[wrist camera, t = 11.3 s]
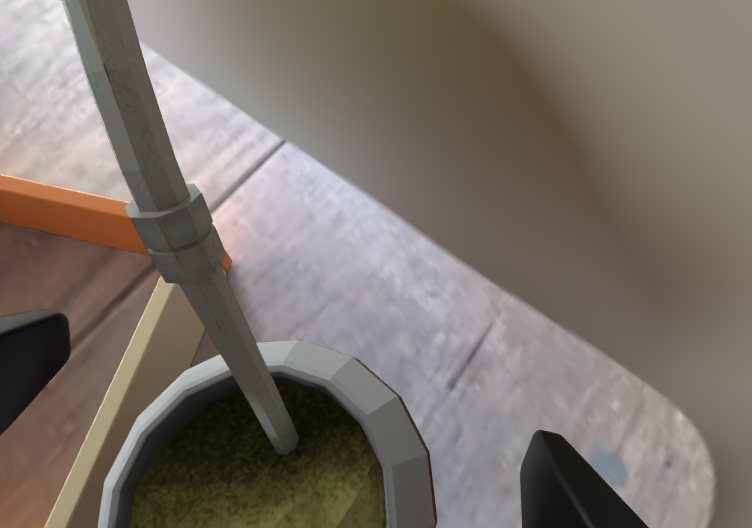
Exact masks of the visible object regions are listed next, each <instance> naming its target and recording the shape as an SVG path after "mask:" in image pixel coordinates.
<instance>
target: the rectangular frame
mask: <svg viewBox="0 0 752 528" xmlns="http://www.w3.org/2000/svg"><path fill="white" fill-rule="evenodd" d="M128 204H129V202H125V201H120V200H115V199H111V198H106V197H102V196H97V195H93V194H88V193H83V192H79V191H74V190H70V189H65V188H61V187H56V186H52V185H47V184H42V183H38V182H33V181H29V180H24V179H20V178H15V177H10V176H6V175H1V174H0V222H5V223H9V224H13V225H18V226H22V227H26V228H31V229H35V230H40V231H44V232H48V233H53V234H57V235H62V236H66V237H70V238H75V239H79V240H84V241H88V242H92V243H97V244H101V245H105V246H110V247H114V248H119V249H123V250H127V251H132V252H136V253H141V254H145V255H149V253H148V251H147V249H146V248H145V246H144V245H143V243H142V241H141V239H140V237H139V235H138V233H137V231H136V229H135V227H134V225H133V224H132V222H131V220H130V218H129V216H128V214H127V212H126V209H125V206H126V205H128ZM224 250H225V249H224ZM225 253H226V256H225V258H224V259H223V261H222V263H221V264H220V266H221V268H222V270H223V272H224V274H225V277H226V275H227V272H228V270H229V268H230V265H231V263H232V260H231V258H230V257H229V255H228V254H227V252H226V251H225ZM149 256H150V255H149ZM204 331H205V327H204V326H203V324H202V322H201V321H200V319H199V317H198V316H197V314H196V312H195V311H194V309H193V307H192V306H191V304H190V302H189V301H188V299H187V297H186V296H185V294H184V292H183V291H182V289H181V287H180V286H179V284H174V283H165V281H164V279H163V277H162V276H160V279H159V281H158V283H157V285H156V287H155V289H154V292H153V294H152V296H151V298H150V300H149V302H148V305H147V307H146V309H145V311H144V313H143V315H142V318H141V320H140V322H139V324H138V326H137V328H136V331H135V333H134V335H133V337H132V339H131V341H130V343H129V346H128V348H127V350H126V352H125V354H124V356H123V359H122V361H121V363H120V365H119V367H118V369H117V372H116V374H115V376H114V378H113V380H112V382H111V385H110V387H109V389H108V391H107V393H106V395H105V397H104V400H103V402H102V404H101V406H100V408H99V410H98V413H97V415H96V417H95V419H94V421H93V423H92V426H91V428H90V430H89V432H88V434H87V436H86V439H85V441H84V443H83V445H82V447H81V449H80V452H79V454H78V456H77V458H76V460H75V462H74V464H73V467H72V469H71V471H70V473H69V475H68V477H67V480H66V482H65V484H64V486H63V488H62V490H61V493H60V495H59V497H58V499H57V501H56V503H55V506H54V508H53V510H52V512H51V514H50V516H49V518H48V521H47V523H46V525H45V527H44V528H98V521H99V514H100V507H101V501H102V494H103V487H104V481H105V479H106V477H107V475H108V474H109V472H110V470H111V468H112V466H113V464H114V462H115V460H116V458H117V456H118V454H119V452H120V450H121V448H122V446H123V444H124V442H125V441H126V439H127V437H128V435H129V433H130V431H131V429H132V427H133V425H134V423H135V421H136V419H137V417H138V416H139V415H140V414H141V413H142V412H143V411H144V410H145V409H146V408H147V407H148V406H150V405H151V404H152V403H153V402H154V401H155V400H156V399H157V398H158V397H159V396H160V395H161V394H162V393H163V392H164V391H165V390H166V389H167V388H168V387H169V386H170V385H171V384H172V383H173V382H174V381H175V380H176V379H177V378H178V377H179V376H180V375H181V374H182V373H183V372H184V371H185V370H187V369H189V368H190V366H191V363H192V361H193V358H194V356H195V353H196V351H197V348H198V346H199V343H200V341H201V338H202V336H203V333H204Z"/></svg>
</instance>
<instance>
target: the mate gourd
mask: <svg viewBox="0 0 752 528" xmlns="http://www.w3.org/2000/svg"><path fill="white" fill-rule="evenodd" d="M62 3H63V6H64V9H65V13H66V16H67V19H68V22H69V25H70V29H71V32H72V35H73V38H74V42H75V45H76V48H77V51H78V54H79V58H80V61H81V64H82V67H83V71H84V74H85V77H86V80H87V83H88V85H89V88H90V91H91V93H92V96H93V99H94V101H95V104H96V107H97V110H98V112H99V115H100V118H101V120H102V123H103V126H104V128H105V131H106V134H107V136H108V139H109V142H110V144H111V147H112V150H113V152H114V155H115V158H116V160H117V163H118V166H119V168H120V171H121V173H122V175H123V177H124V179H125V182H126V184H127V186H128V188H129V190H130V193H131V195H132V197H133V199H134V200H133V201H131V202H130V203H129V204H128V205H126V206H125V209H126V212H127V214H128V216H129V218H130V220H131V222H132V224H133V225H134V227H135V229H136V231H137V233H138V235H139V237H140V239H141V241H142V243H143V245H144V246H145V248H146V249H147V251H148V253H149V255H150V257H151V258H152V260H153V262H154V264H155V265H156V267H157V269H158V270H159V272H160V274H161V276H162V277H163V279H164V281H165V283H174V284H179V286H180V287H181V289H182V291H183V292H184V294H185V296H186V297H187V299H188V301H189V302H190V304H191V306H192V307H193V309H194V311H195V312H196V314H197V316H198V317H199V319H200V321H201V322H202V324H203V326H204V327H205V329H206V331H207V332H208V334H209V336H210V337H211V339H212V341H213V342H214V344H215V346H216V347H217V349H218V351H219V352H220V354H219V355H217V356H215V357H213V358H211V359H209V360H206V361H204V362H202V363H200V364H198V365H196V366H194V367H192V368H189V369H187V370H185V371H184V372H183V373H182V374H181V375H180V376H179V377H178V378H177V379H176V380H175V381H174V382H173V383H172V384H171V385H170V386H169V387H168V388H167V389H166V390H165V391H164V392H163V393H162V394H161V395H160V396H159V397H158V398H157V399H156V400H155V401H154V402H153V403H152V404H151V405H150V406H148V407H147V408H146V409H145V410H144V411H143V412H142V413H141V414H140V415H139V416H138V417H137V419H136V421H135V423H134V425H133V427H132V429H131V431H130V433H129V435H128V437H127V439H126V441H125V442H124V444H123V446H122V448H121V450H120V452H119V454H118V456H117V458H116V460H115V462H114V464H113V466H112V468H111V470H110V472H109V474H108V475H107V477H106V479H105V481H104V487H103V494H102V501H101V507H100V514H99V521H98V528H436V524H437V514H436V505H435V497H434V488H433V480H432V471H431V463H430V454H429V451H428V449H427V447H426V445H425V443H424V441H423V439H422V437H421V435H420V433H419V431H418V429H417V427H416V425H415V423H414V421H413V419H412V417H411V415H410V414H409V412H408V410H407V408H406V406H405V404H404V402H403V400H402V398H401V396H399V395H398V394H397V393H396V392H395V391H394V390H393V389H391V388H390V387H389V386H388V385H387V384H386V383H384V382H383V381H382V380H381V379H380V378H379V377H378V376H376V375H375V374H374V373H373V372H372V371H371V370H370V369H368V368H367V367H366V366H365V365H364V364H363V363H361V362H360V361H359V360H358V359H356V358H353V357H350V356H347V355H344V354H341V353H338V352H335V351H332V350H329V349H326V348H323V347H320V346H317V345H314V344H311V343H308V342H305V341H302V340H289V341H275V342H261V343H256V342H255V339H254V337H253V335H252V333H251V331H250V329H249V326H248V324H247V322H246V320H245V318H244V316H243V313H242V311H241V309H240V307H239V305H238V303H237V300H236V298H235V296H234V294H233V292H232V290H231V287H230V285H229V283H228V281H227V279H226V277H225V274H224V272H223V270H222V268H221V266H220V264H221V263H222V261H223V259H224V258H225V256H226V253H225V250H224V248H223V245H222V243H221V240H220V238H219V235H218V233H217V230H216V228H215V226H214V225H213V224H212V222H213V220H212V217H211V215H210V212H209V210H208V207H207V205H206V202H205V200H204V197H203V195H202V193H201V192H200V190H199V189H198V188H197V187H196V186H195V185H194V184H185V181H184V179H183V176H182V173H181V171H180V168H179V166H178V163H177V161H176V158H175V155H174V152H173V149H172V146H171V143H170V140H169V137H168V134H167V130H166V127H165V124H164V121H163V118H162V115H161V112H160V109H159V106H158V103H157V100H156V97H155V94H154V91H153V87H152V84H151V81H150V78H149V75H148V72H147V69H146V65H145V62H144V58H143V55H142V51H141V48H140V44H139V41H138V37H137V34H136V30H135V26H134V23H133V19H132V16H131V12H130V9H129V5H128V2H127V0H62Z"/></svg>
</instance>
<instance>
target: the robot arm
mask: <svg viewBox="0 0 752 528" xmlns="http://www.w3.org/2000/svg"><path fill="white" fill-rule="evenodd" d="M70 354H71V342H70V331H69V321H68V318H67V317H66V315H64V314H62V313H59V312H55V311H51V310H46V309H40V310H35V311H29V312H24V313H18V314H13V315H7V316H2V317H0V435H1V434H2V433H3V432H4V431H5V430H6V429H7V428H8V427H9V426H10V425H11V424H12V423H13V422H14V421H15V420H16V419H17V418H18V417H19V415H20V414H21V413H22V412H23V411H24V410H25V409H26V408H27V407H28V405H29V404H30V403H31V402H32V401H33V400H34V399H35V398H36V396H37V395H38V394H39V393H40V392H41V391H42V390H43V389H44V387H45V386H46V385H47V384H48V383H49V382H50V381H51V380H52V378H53V377H54V376H55V375H56V374H57V373H58V372H59V371H60V370H61V368H62V367H63V366H64V365H65V364H66V363H67V361H68V359H69V357H70ZM520 486H521V511H522V528H649V527H648V526H647V525H646V524H645V523H644V522H643V521H642V520H641V519H640V518H639V517H638V516H637V515H636V514H635V512H634V511H633V510H632V509H631V508H630V507H629V506H628V505H627V504H626V503H625V502H624V501H623V500H622V499H621V498H620V497H619V496H618V494H617V493H616V492H615V491H614V490H613V489H612V488H611V487H610V486H609V485H608V484H607V483H606V482H605V481H604V480H603V479H602V478H601V476H600V475H599V474H598V473H597V472H596V471H595V470H594V469H593V468H592V467H591V466H590V465H589V464H588V463H587V462H586V461H585V460H584V459H583V457H582V456H581V455H580V454H579V453H578V452H577V451H576V450H575V449H574V448H573V447H572V446H571V445H570V444H569V443H568V442H567V441H566V439H565V438H564V437H562V436H561V435H559V434H556V433H552V432H548V431H544V430H538V431H536V432H535V433H534V435H533V437H532V439H531V442H530V445H529V447H528V450H527V452H526V455H525V457H524V460H523V463H522V466H521V472H520Z"/></svg>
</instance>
